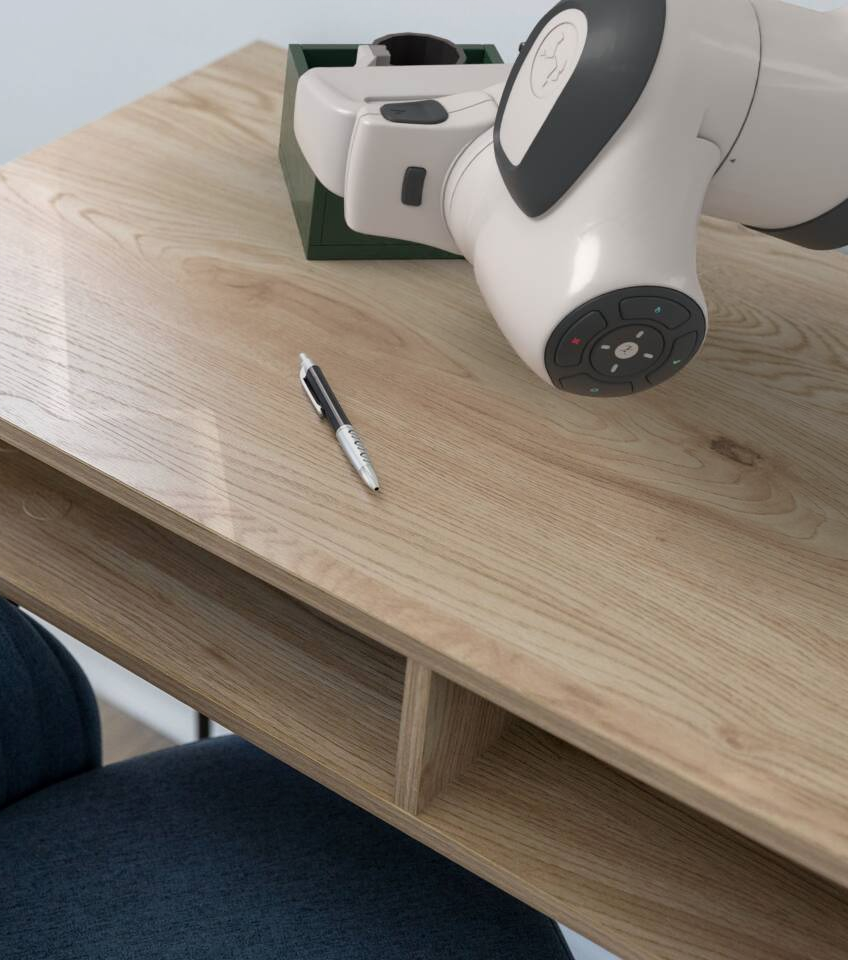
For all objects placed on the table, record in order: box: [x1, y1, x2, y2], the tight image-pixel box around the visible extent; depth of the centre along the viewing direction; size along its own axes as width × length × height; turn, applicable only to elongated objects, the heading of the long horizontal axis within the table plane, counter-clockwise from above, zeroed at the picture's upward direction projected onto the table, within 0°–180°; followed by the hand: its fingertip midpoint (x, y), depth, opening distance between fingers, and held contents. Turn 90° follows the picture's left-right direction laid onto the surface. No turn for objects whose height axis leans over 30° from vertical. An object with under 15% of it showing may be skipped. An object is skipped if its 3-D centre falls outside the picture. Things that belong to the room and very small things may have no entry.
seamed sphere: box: [697, 265, 721, 277], centre depth 91 cm, size 10×7×7 cm
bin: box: [277, 43, 506, 260], centre depth 103 cm, size 14×14×8 cm
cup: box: [370, 31, 466, 66], centre depth 102 cm, size 6×6×10 cm
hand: (449, 55), depth 93 cm, fingers open, 8 cm apart
